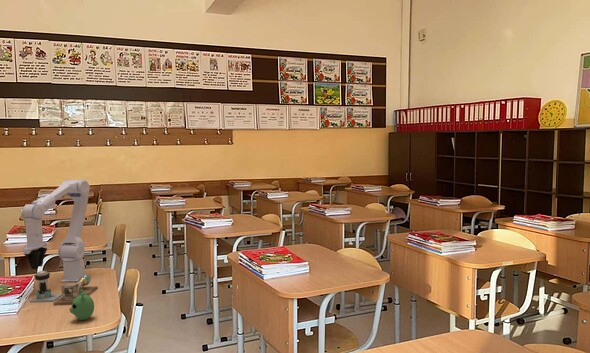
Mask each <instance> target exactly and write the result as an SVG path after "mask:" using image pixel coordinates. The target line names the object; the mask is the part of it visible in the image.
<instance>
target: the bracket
mask: <svg viewBox="0 0 590 353" xmlns="http://www.w3.org/2000/svg"><path fill="white" fill-rule="evenodd" d="M68 288H73V293H72V294H68V293H67V289H68ZM80 290H84V293H85V295H89V296H91V295H92V294H93V293H94V292H96V290H99V287H98V285H94V286H93V285H92V286H83V287H82V286H81V287H80V288H79V284H75V283H65V284H63V285H61V294H62V296H61V297H60V298H58V299H57V300H55V301H53V302H52V303H53V306H69V305H70V306H72V302H73V300H74V298H76V297H77V296H79V295H80V292H79V291H80Z"/></svg>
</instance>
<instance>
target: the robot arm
mask: <svg viewBox="0 0 590 353" xmlns="http://www.w3.org/2000/svg"><path fill="white" fill-rule="evenodd" d="M90 190H91V186H90V184H89V182H88V180H86V179H66V180H64V181H63V182H61V184H60V185H59V186H58V187H57V188H56V189H55V190H53V191H51V192H50V194H49V193H46V194H45V193H44V194H43V193H42V194H41V195H40V197H39V198H37V199H36V200H33V201H32V202H31V203H30V204H25V205H24V206H23V207H22V209H21V212H20V214H21V215H20V216H21V217H22V218H23V221H24V222H23V223H24V224H25V230H26V231H25V232H26V233H25V234H26V236H25V237H26V244H25V245H24V248H23V249H22V252H23V255H24V256H25V258H26V260H27V261H28V262H29V265H30V268H31V270H37V269H39V267H43V264H44V259H45V255H46V253H47V252H48V248H47V247H48V241H46V240H44V236H43V235H44V234H43V225H42V224H43V223H42V222H43V220H42V218H44V216H45V213H46V212H47V211H48V210H50V209H51V208H52V207H54V206H55V205H56V201H58V200H60V198H63V197H64V196H65V195H67V197H69V198H70V200H72V201H73V205H72V206H73V207H72V212H71V217H70V220H69V226H68V232H67V234H66V235H67V236H66V237H65V238H63V240H61V243H60V245H59V247H58V250H57V251H58V252H57V254H58V257H59V258H61V261H62V264H63V276H64V277H63V279H61V280H60V283H64V282H66V283H67V282H70V283H72V282H78V280H79V279H80V277H82V276H83V275H88V274H86V269H85V268H86V267H85V260H84V256H85V253H86V249H85V248H86V247H85V246H86V242H85V241H84V240H82V238H81V237H82V232H83V229H84V228H83V227H84V222H85V216H86V212H87V207H88V203H89V194H90Z"/></svg>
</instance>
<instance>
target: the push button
mask: <svg viewBox="0 0 590 353" xmlns="http://www.w3.org/2000/svg"><path fill="white" fill-rule="evenodd" d="M50 275H51V273H50V272H48V271H47V270H41V271H38V272H36V274H34V280H35V281H36V282H37V291H36V292H35V297H37V299H41V298H49V297H50V296H52V295H51V294H54V295H55V294H56V292H55V291H52V290H51V289H50V288H49V278H50Z"/></svg>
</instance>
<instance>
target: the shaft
mask: <svg viewBox="0 0 590 353" xmlns="http://www.w3.org/2000/svg"><path fill="white" fill-rule="evenodd" d="M91 281H92V280H91V277H90V276H89V275H88V274H87V275H83V276H82V277H80V279H79V280H78V281H75V283H74V284H79V288H80V287H87V285H89V284H90V283H91ZM67 293H68V294H72V293H73V288H68V289H67Z"/></svg>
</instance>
